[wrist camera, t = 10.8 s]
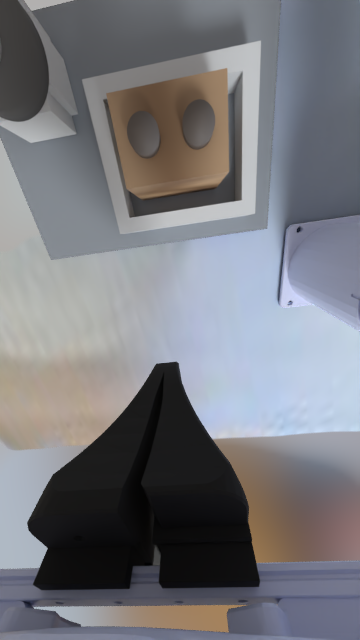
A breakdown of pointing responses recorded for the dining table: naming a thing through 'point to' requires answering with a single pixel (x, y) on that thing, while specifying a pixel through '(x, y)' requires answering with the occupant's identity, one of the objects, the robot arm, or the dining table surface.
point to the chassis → (138, 70)
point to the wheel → (32, 78)
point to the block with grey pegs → (173, 134)
